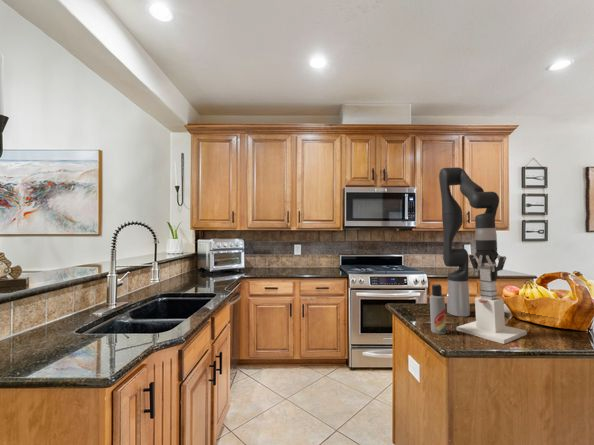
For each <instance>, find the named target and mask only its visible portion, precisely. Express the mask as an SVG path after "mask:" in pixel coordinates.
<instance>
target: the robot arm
mask: <svg viewBox="0 0 594 445" xmlns="http://www.w3.org/2000/svg"><path fill="white" fill-rule="evenodd" d="M438 180H439V182H438V183H439V189H440V197H441V212H442V213H441V218H442V219H441V220H442V231H443V232H442V233H443V248H442V250H443V251H442V252H443V253H442V254H443V255H442V258H443V264H444V266H445V267H449V268H453V267H454V268H455V267H456V268H457V270H455V271H453V272H451V273H450V272H449V273H448V274H447V290H448V292H447V294H446V310H447V311H446V312H447V314H449V315H452V316H454V317H455V316H456V317H469V316H471V309H470V308H471V307H470V306H471V305H470V286H469V283H470V282H469V261H470V263H471V266H472V268H473V269H476V270H477V271H478V272H477V273H478V274H477V276H478V278H479V279H480V269H479V266H484V265H485V266H486V264H488V266H490V267H492V272H491V275H492V281H496V282H497V280H498V278H499V277H498V276H499V275H498V272H499V271H502V270H504V267H505V263H506V260H507V257H506V256H503V255H500V254H499V253H498V237H497V236H498V234H497V230H496V229H497V228H496V216H497V211H498V208H499V205H500V197H499V195H498V193H497V192H495V191H485V190H484V188H483V187H482V186H480V185H478V184H477V183H476V182H474V181H473V179H471V177H470V176H469V175H468V174H467V172H466V171H465V170H464V169H463V168H462V167H458V166H457V167H456V166H455V167H444V168H441V169H440V171H439V174H438ZM450 186H459V191H460V193H461V195H463V196H464V197H465V198H466V199H467V200H468V204H469V206H470V207H471V208H473V209H478V210H479V209H480V210H481V209H482V210H483V209H485V211H484V213H481V214H477V215H475V217H474V221H475V222H474V223H475V224H474V225H475V226H474V227H475V231H474V232H475V233H474V239H475V250H476V252H475V254H469V252H468V250H467V249H465V248H453V247H452V246H453V242H454V240H455V239H454V238H455V236H456V235H457V233H458V232H459V231H460V229H461V227H462V225H463V222H464V221H463V208H462V207H461V206H460V205H459V202H457V200H456V199H455V198H454V196H453V194H452V191H451V189H450ZM477 259H478V260H477ZM497 261H498V263H497Z"/></svg>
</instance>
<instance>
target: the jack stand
mask: <svg viewBox="0 0 594 445" xmlns="http://www.w3.org/2000/svg"><path fill="white" fill-rule="evenodd" d="M504 300H505V299H504V298H501V297H497V299H496V300H487V299H481V296H476V297H474V308H475V320H474V321H470V322H468V323H465V324H461V325H458V326H456V331H457V332H461V333H464V334H467V335H468V334H469V335H471V336H476V337H477V338H478V337H479V338H481V339H485V340H488V341H492V342H496V343H499V344H503V345H505V344H507V343H510V342H513V341H515V340H517V339H520V338H522V337H525V336H526V335H528V333H527V332H528V331H527V330H525V329H521V328H518V327H512V326H507V325H506V322H505V306H504V305H505V303H504Z"/></svg>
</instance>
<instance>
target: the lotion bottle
mask: <svg viewBox="0 0 594 445" xmlns="http://www.w3.org/2000/svg"><path fill="white" fill-rule="evenodd" d="M442 289H443V287H442V285H441V284H440V283H439V284H438V283H436V284H435V283H434V284H432V285H431V294H430V295H429V312H430V314H429V315H430V330H431V332H432V333H434V334H436V335H445V334H446V333H447V324H446V323H447V322H446V321H447V320H446V318H447V317H446V303H445V301H446V300H445V296H444V295H443V294H442V293H443V290H442Z"/></svg>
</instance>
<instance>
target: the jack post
mask: <svg viewBox="0 0 594 445" xmlns="http://www.w3.org/2000/svg"><path fill="white" fill-rule="evenodd" d="M479 269H480V278H479V283H480V290H479V291H480V297H481V299H487V300H496V299H497V298H498V294H497V291H498V290H497V280H496V281H492V275H491V272H492V267H490V266H489V265H486V264H485V265H484V266H479Z"/></svg>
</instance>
